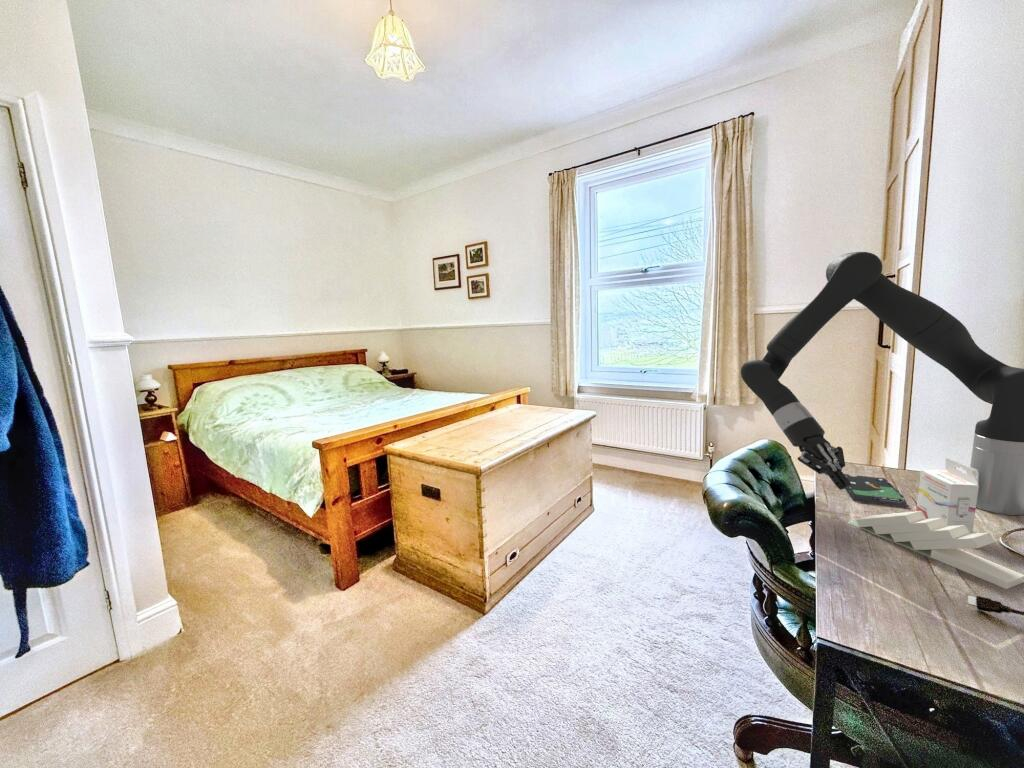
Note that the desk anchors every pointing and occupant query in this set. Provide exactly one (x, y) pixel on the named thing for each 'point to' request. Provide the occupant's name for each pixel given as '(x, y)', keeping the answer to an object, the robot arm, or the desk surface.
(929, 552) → the felt strip
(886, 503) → the disk drive
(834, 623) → the desk surface
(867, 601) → the desk surface
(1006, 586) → the domino
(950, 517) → the ink cartridge box
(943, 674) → the desk surface
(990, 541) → the domino
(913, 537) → the domino
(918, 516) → the domino
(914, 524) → the domino
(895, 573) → the desk surface
